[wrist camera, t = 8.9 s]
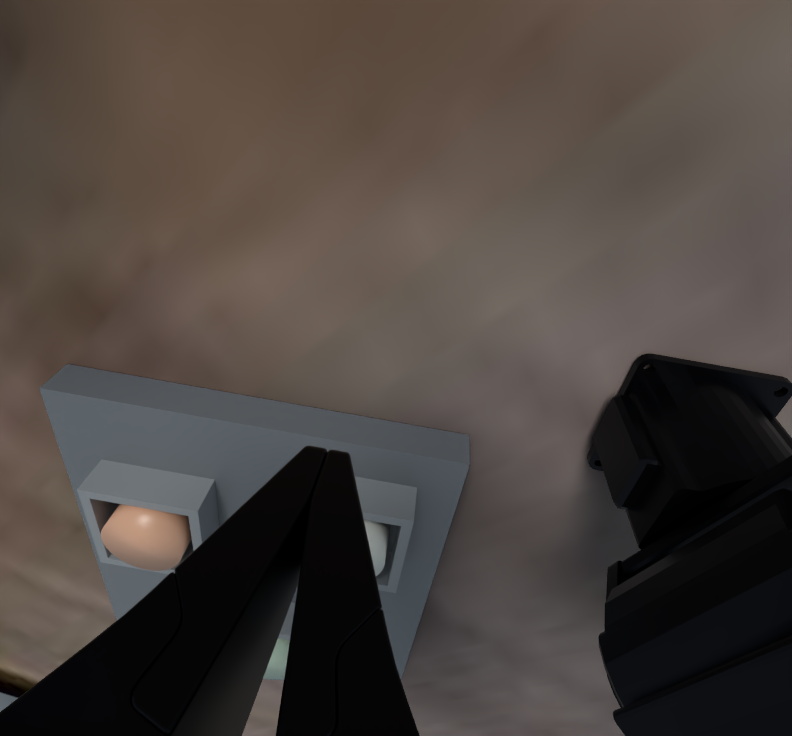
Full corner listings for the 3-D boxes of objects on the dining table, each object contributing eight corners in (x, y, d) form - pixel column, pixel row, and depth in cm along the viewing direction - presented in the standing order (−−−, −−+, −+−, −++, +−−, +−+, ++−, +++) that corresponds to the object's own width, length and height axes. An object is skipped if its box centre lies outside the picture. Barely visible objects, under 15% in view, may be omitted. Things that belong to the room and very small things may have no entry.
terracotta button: (194, 495, 25) (176, 528, 24) (201, 544, 28) (184, 576, 26) (116, 481, 25) (93, 513, 24) (129, 531, 28) (108, 562, 26)
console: (469, 434, 25) (470, 498, 21) (402, 654, 37) (397, 715, 34) (67, 363, 25) (7, 415, 21) (136, 606, 37) (104, 662, 34)
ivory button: (394, 503, 24) (390, 538, 23) (384, 553, 27) (379, 588, 25) (313, 489, 24) (302, 523, 23) (309, 540, 27) (299, 574, 25)
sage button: (304, 620, 31) (295, 653, 29) (301, 651, 33) (293, 684, 32) (240, 608, 31) (228, 641, 29) (242, 641, 33) (231, 673, 32)
